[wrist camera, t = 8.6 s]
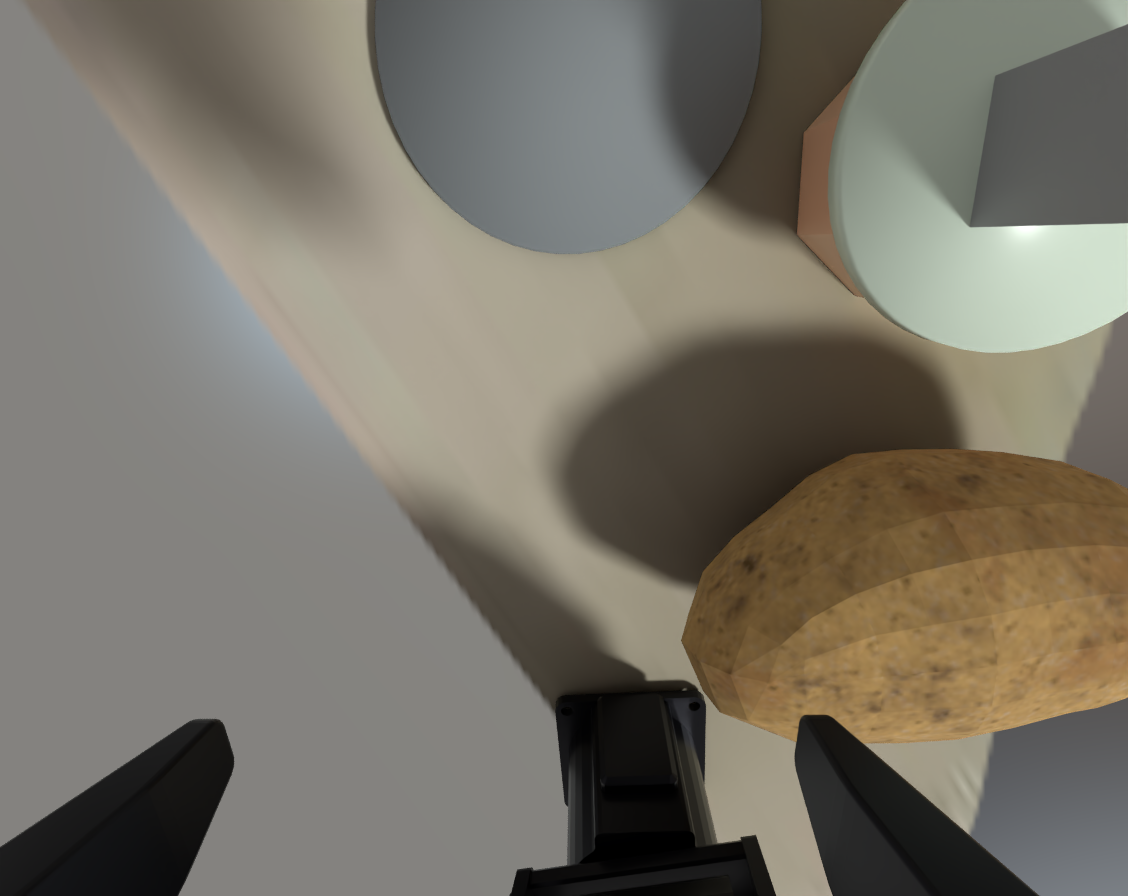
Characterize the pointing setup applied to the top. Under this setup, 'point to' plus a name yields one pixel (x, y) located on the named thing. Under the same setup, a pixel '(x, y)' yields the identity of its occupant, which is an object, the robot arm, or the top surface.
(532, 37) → the mat
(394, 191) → the top surface
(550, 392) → the top surface
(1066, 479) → the potato
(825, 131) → the cup
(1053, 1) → the lid
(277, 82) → the top surface
